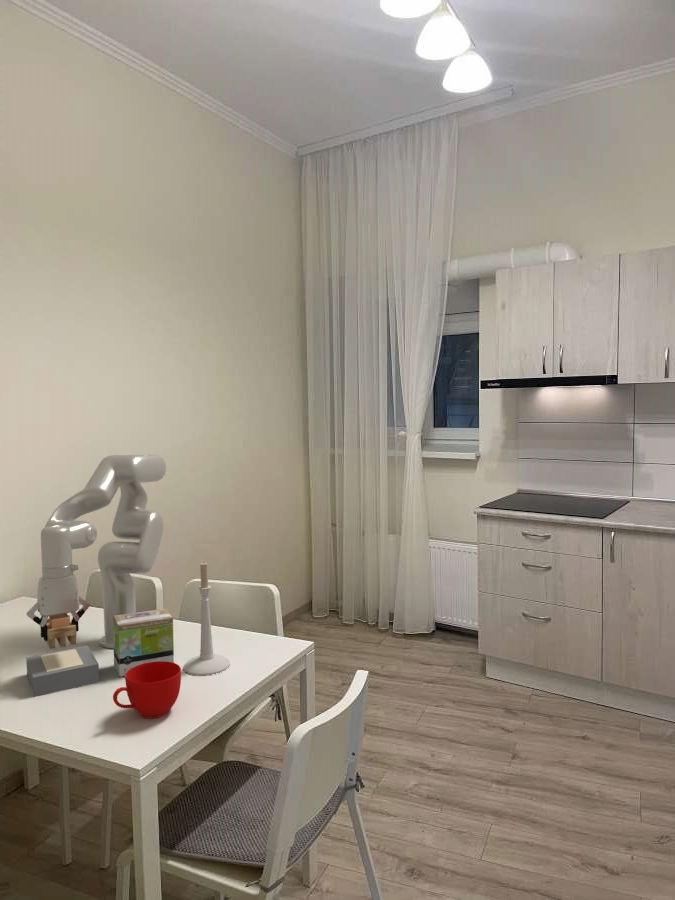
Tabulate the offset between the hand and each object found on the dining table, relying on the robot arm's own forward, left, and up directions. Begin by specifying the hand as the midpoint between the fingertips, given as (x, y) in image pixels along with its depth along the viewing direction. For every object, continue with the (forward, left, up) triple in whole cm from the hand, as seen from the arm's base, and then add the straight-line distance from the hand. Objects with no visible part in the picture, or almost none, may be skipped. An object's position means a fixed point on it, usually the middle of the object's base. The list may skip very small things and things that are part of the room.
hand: (60, 636), depth 176 cm
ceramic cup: (-14, +34, -12) cm, 39 cm away
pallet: (0, 0, -1) cm, 1 cm away
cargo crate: (0, 0, +3) cm, 3 cm away
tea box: (-21, +4, -12) cm, 25 cm away
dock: (0, 0, -12) cm, 12 cm away
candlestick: (-36, +14, -12) cm, 41 cm away
